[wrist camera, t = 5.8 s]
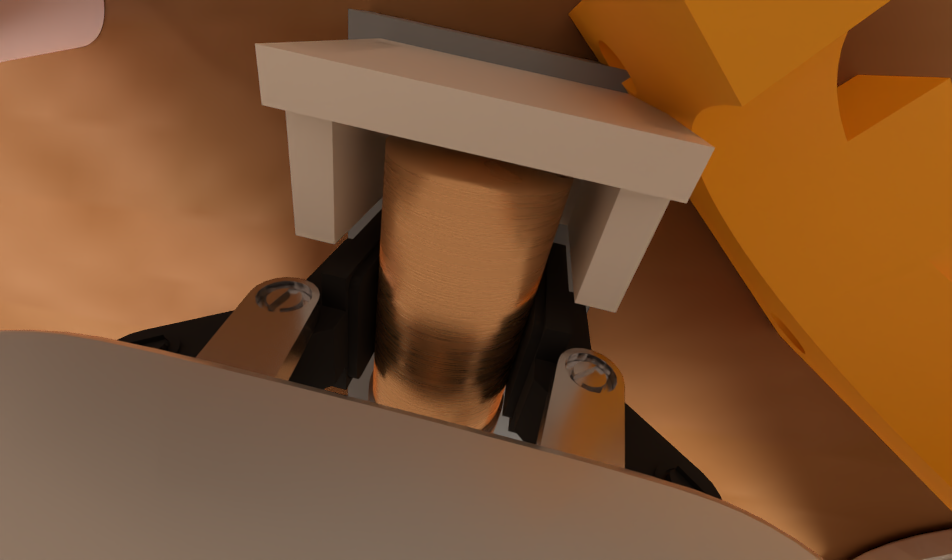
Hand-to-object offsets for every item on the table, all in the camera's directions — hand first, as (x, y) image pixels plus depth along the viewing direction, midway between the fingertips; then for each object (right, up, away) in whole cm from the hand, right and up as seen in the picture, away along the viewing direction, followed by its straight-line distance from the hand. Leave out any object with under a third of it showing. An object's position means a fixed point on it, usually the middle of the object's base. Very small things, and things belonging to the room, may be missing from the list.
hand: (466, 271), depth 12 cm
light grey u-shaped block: (+1, +3, -1) cm, 4 cm away
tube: (-1, -3, +2) cm, 4 cm away
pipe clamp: (+8, +3, -1) cm, 9 cm away
